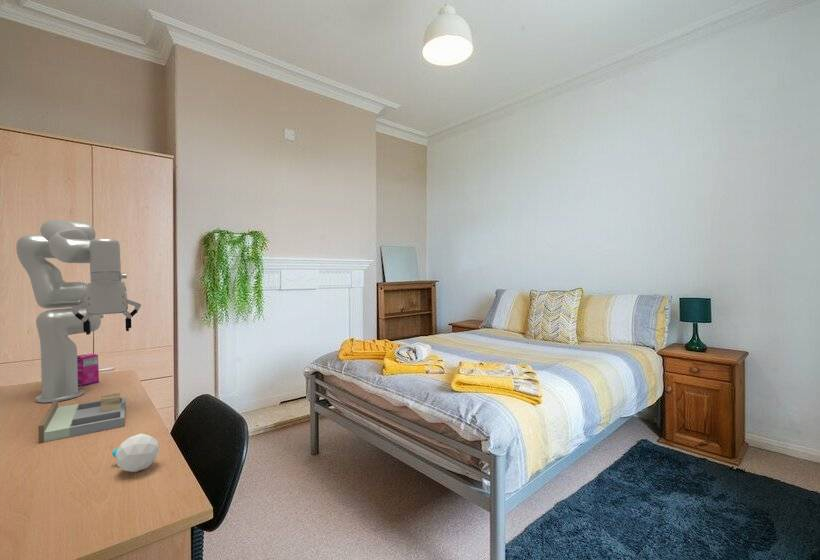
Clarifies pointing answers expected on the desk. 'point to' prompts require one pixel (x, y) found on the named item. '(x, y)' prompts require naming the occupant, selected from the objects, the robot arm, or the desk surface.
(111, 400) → the maple block
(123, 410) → the board
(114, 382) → the desk surface
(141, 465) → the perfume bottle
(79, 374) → the supplement box
